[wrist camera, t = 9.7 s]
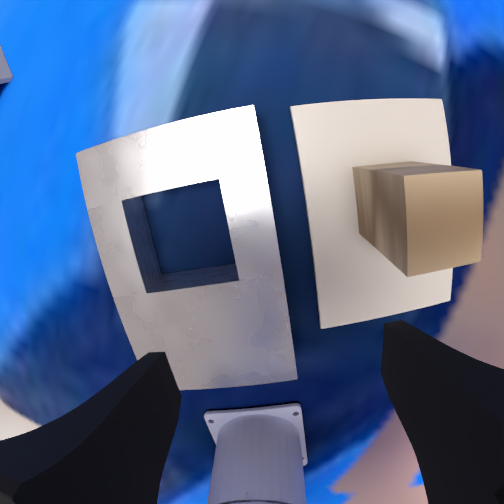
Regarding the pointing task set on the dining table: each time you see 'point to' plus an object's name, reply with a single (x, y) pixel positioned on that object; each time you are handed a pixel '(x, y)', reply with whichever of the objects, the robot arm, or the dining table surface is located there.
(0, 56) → the hinge
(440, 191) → the peg
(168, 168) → the white frame
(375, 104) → the pad
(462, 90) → the dining table surface
